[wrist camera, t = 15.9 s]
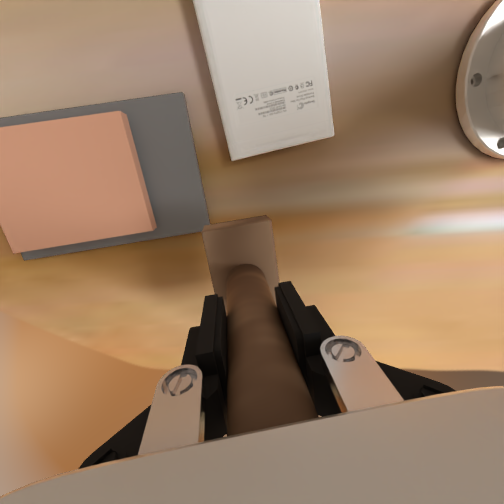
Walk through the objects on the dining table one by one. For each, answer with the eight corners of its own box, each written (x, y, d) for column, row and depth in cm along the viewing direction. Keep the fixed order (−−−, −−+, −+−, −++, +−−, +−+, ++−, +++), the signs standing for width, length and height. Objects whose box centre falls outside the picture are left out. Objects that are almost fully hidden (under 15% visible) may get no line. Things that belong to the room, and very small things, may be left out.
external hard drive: (304, -60, 17) (329, 138, 21) (184, -32, 17) (231, 161, 21) (311, -83, 16) (336, 135, 19) (179, -53, 15) (231, 160, 19)
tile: (119, 110, 16) (-43, 133, 16) (152, 230, 19) (13, 253, 18) (127, 115, 18) (-23, 136, 17) (157, 226, 20) (27, 248, 20)
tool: (266, 215, 16) (435, 391, 3) (279, 310, 19) (412, 655, 5) (204, 225, 16) (107, 459, 3) (224, 320, 18) (220, 704, 5)
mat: (184, 95, 19) (182, 92, 18) (211, 228, 22) (210, 230, 21) (-27, 125, 18) (-38, 123, 17) (31, 257, 21) (24, 260, 20)
